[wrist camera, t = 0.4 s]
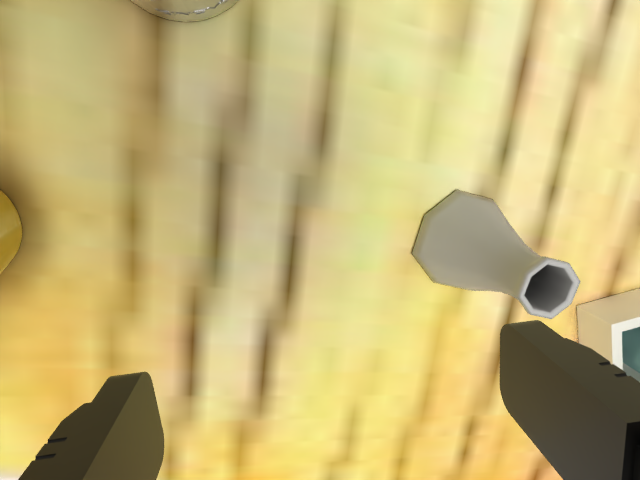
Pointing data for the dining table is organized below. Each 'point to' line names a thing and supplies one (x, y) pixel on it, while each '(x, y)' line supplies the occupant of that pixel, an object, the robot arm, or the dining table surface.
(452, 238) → the flask
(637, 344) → the dowel
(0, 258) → the plant pot
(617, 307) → the tray
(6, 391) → the dining table surface
